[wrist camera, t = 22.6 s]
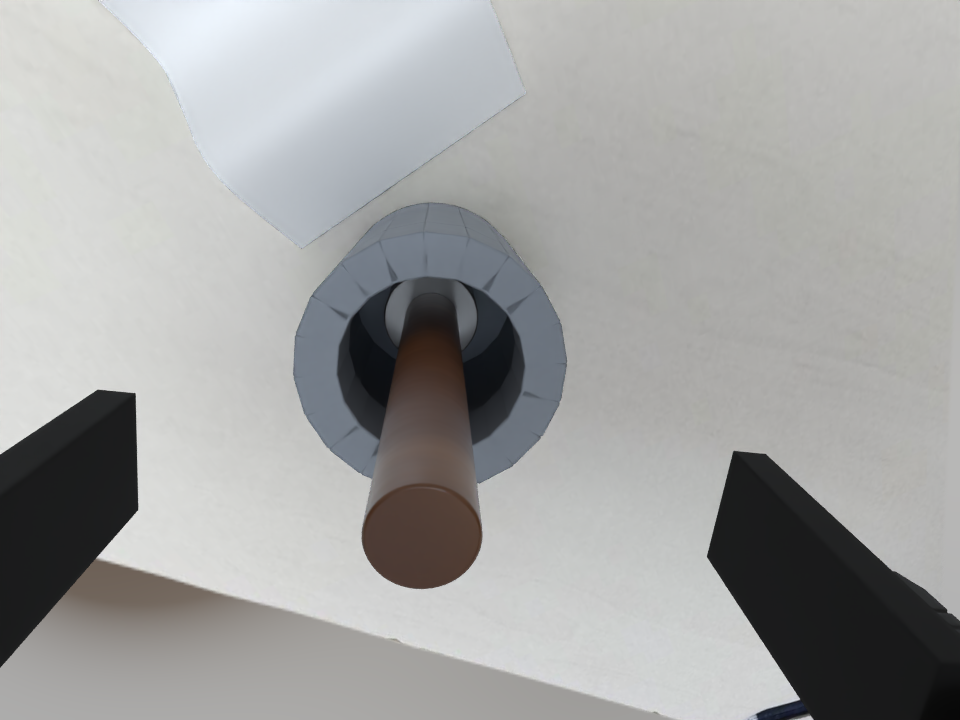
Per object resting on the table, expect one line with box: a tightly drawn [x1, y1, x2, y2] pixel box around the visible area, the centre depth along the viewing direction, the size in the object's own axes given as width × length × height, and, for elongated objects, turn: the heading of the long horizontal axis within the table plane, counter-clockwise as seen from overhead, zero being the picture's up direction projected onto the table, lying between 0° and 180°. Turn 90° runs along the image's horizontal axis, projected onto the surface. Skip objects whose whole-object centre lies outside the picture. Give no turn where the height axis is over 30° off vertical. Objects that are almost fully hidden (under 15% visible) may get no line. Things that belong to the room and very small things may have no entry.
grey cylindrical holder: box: [293, 203, 567, 483], centre depth 28 cm, size 9×9×13 cm
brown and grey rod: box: [362, 277, 483, 589], centre depth 23 cm, size 4×4×22 cm
